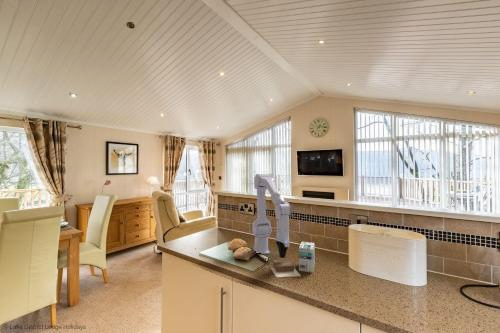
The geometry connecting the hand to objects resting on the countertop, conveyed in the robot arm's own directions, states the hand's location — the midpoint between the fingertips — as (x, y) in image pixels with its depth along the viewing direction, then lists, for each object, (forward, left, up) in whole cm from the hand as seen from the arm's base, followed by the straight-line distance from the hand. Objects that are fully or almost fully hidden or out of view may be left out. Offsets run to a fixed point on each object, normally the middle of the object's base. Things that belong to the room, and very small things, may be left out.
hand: (282, 257), depth 114 cm
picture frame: (-2, 0, -3) cm, 4 cm away
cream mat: (+4, 0, -5) cm, 7 cm away
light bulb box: (+1, +12, -5) cm, 13 cm away
